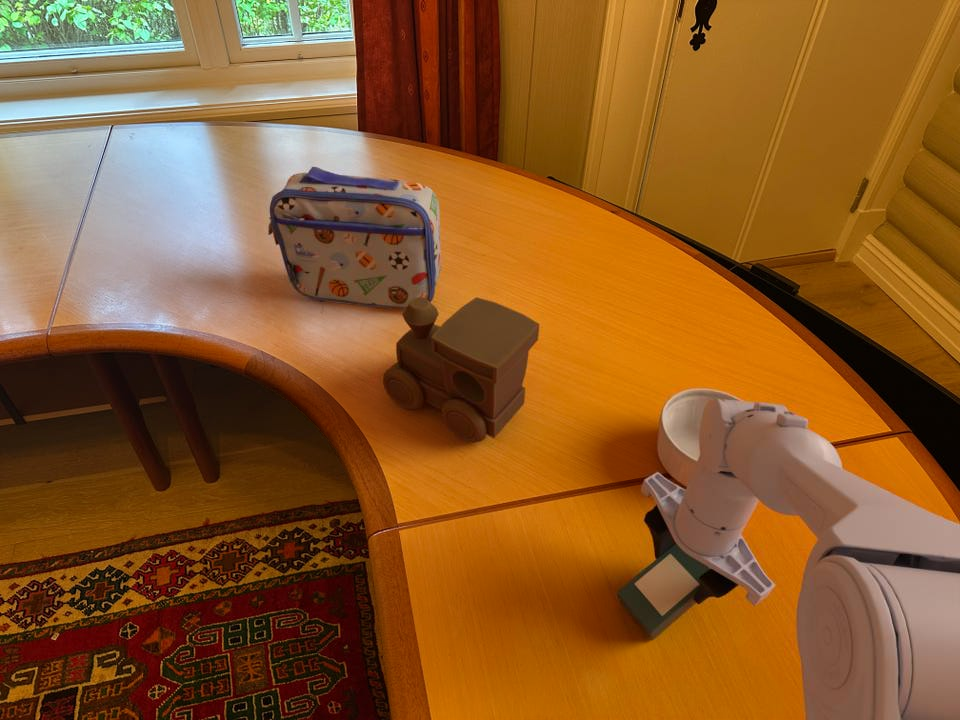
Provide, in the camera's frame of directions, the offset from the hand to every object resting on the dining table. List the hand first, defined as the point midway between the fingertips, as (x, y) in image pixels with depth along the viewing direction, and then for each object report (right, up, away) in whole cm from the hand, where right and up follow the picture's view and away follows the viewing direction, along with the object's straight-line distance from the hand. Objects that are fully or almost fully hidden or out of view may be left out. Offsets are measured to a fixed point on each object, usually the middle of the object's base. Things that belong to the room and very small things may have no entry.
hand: (682, 575), depth 64 cm
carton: (-1, -2, +1) cm, 3 cm away
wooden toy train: (-25, +16, +23) cm, 38 cm away
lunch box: (-42, +34, +42) cm, 68 cm away
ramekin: (+8, +9, +16) cm, 20 cm away
